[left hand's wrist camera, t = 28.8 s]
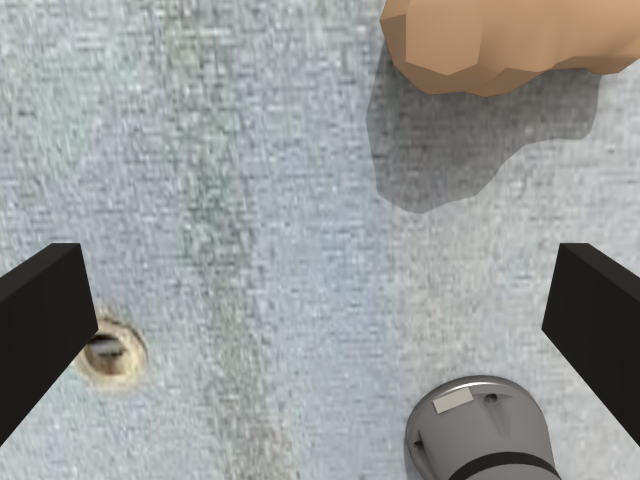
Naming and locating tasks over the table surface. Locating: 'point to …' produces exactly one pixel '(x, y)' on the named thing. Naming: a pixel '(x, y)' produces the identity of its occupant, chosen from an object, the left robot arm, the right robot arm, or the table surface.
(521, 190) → the table surface
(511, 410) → the left robot arm
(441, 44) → the squash
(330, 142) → the table surface
